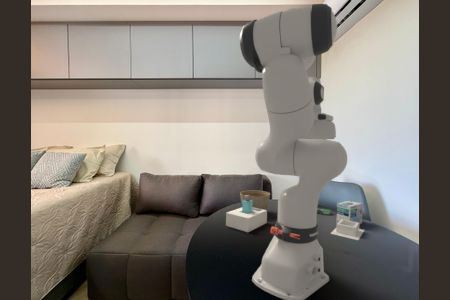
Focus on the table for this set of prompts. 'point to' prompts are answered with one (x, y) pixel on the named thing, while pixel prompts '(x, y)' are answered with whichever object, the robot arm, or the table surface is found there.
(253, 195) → the planter bowl
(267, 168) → the robot arm
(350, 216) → the light bulb box
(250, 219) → the white box
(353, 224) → the holster
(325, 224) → the table surface
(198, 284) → the table surface
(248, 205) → the plug
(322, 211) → the disk drive
